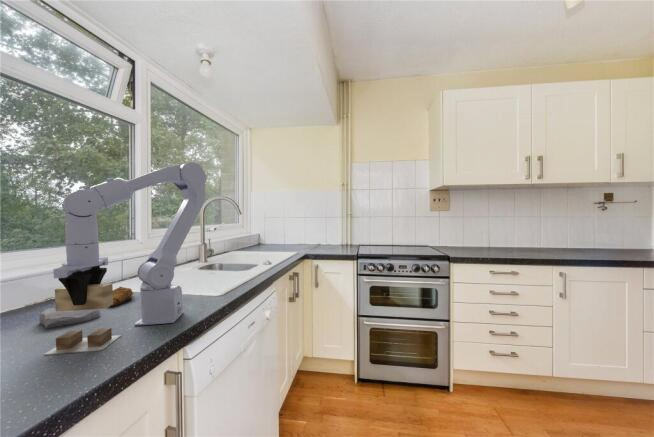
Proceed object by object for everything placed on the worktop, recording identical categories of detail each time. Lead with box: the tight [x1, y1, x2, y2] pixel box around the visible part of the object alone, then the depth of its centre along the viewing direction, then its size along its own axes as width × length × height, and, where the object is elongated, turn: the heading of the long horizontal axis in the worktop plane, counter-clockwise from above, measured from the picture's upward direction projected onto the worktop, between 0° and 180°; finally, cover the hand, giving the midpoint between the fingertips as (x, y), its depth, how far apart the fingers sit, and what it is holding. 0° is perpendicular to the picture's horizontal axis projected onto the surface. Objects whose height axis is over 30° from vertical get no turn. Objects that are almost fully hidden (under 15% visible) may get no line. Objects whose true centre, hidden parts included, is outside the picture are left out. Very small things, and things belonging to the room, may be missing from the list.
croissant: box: [110, 286, 134, 308], centre depth 94 cm, size 14×7×5 cm, turn 17°
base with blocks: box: [43, 327, 122, 356], centre depth 63 cm, size 11×7×3 cm, turn 98°
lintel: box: [54, 283, 114, 312], centre depth 66 cm, size 10×3×5 cm, turn 97°
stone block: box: [39, 307, 102, 329], centre depth 79 cm, size 12×5×10 cm
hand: (85, 302), depth 66 cm, fingers closed on lintel, 3 cm apart
